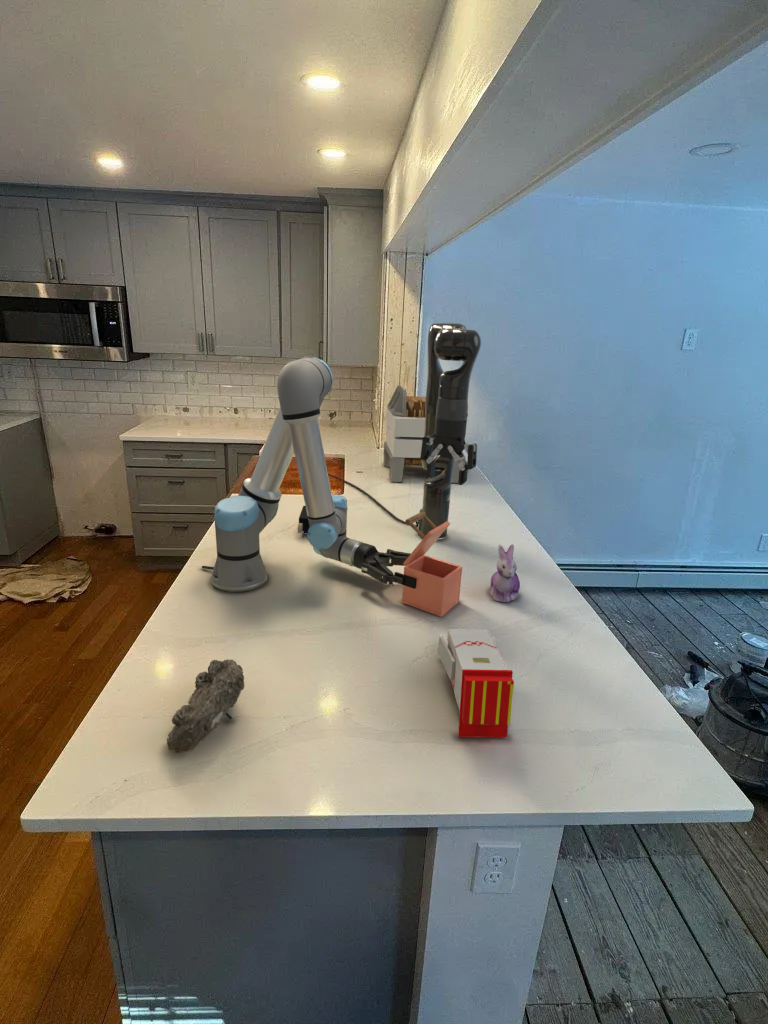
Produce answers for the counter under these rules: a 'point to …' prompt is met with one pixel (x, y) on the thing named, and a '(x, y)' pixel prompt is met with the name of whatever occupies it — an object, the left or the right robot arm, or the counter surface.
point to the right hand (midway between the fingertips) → (446, 480)
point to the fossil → (206, 705)
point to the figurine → (505, 577)
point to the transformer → (406, 434)
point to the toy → (478, 682)
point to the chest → (433, 585)
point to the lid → (427, 539)
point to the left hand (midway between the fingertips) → (426, 576)
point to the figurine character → (303, 522)
